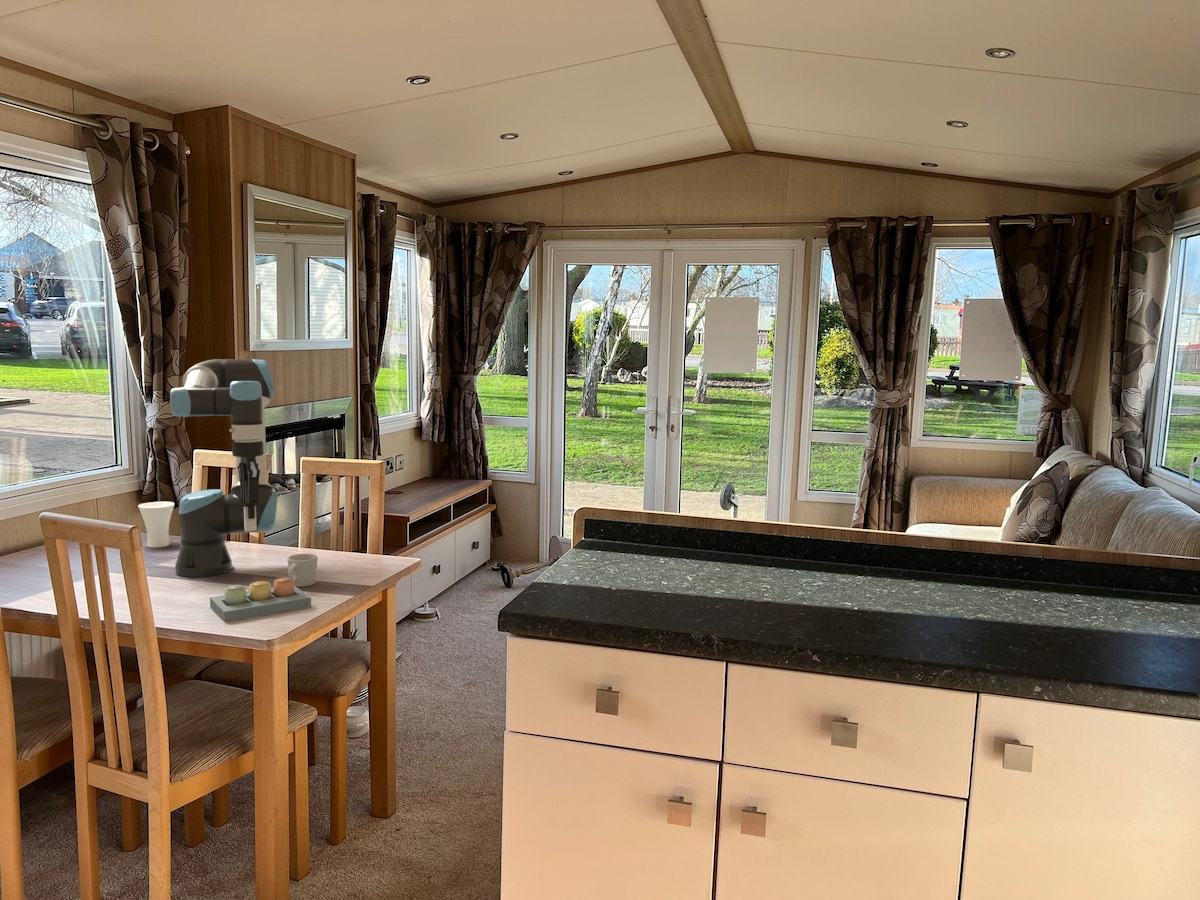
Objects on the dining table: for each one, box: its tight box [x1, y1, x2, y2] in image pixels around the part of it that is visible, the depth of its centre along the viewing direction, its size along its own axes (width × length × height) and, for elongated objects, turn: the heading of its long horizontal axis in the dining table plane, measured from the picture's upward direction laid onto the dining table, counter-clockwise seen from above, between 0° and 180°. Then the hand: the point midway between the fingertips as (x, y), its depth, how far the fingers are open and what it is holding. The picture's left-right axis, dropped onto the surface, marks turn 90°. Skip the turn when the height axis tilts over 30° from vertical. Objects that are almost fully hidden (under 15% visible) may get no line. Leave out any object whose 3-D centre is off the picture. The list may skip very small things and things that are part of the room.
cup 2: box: [287, 553, 319, 588], centre depth 242 cm, size 11×8×8 cm
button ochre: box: [249, 580, 272, 602], centre depth 223 cm, size 5×5×4 cm
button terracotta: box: [273, 577, 294, 598], centre depth 226 cm, size 5×5×4 cm
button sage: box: [224, 584, 247, 606], centre depth 219 cm, size 5×5×4 cm
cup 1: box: [138, 501, 175, 548], centre depth 283 cm, size 10×10×14 cm
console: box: [209, 586, 312, 623], centre depth 223 cm, size 14×21×3 cm, turn 127°
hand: (250, 530), depth 228 cm, fingers closed
